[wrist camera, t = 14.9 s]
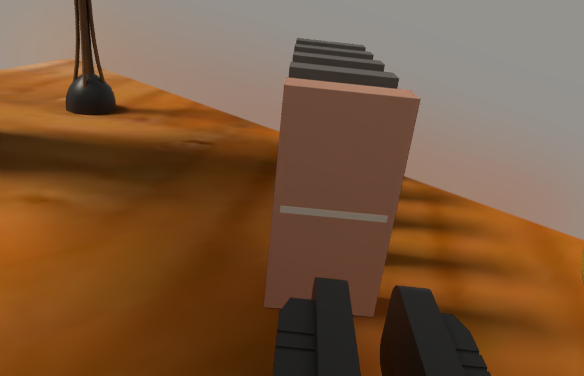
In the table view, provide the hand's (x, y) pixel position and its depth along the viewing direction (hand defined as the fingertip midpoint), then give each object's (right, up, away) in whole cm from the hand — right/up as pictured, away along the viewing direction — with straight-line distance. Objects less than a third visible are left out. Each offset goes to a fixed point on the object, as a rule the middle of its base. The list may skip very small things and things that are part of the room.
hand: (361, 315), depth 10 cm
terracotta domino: (0, -2, +11) cm, 11 cm away
